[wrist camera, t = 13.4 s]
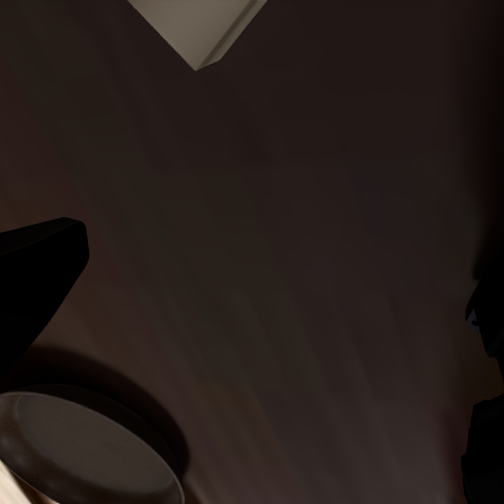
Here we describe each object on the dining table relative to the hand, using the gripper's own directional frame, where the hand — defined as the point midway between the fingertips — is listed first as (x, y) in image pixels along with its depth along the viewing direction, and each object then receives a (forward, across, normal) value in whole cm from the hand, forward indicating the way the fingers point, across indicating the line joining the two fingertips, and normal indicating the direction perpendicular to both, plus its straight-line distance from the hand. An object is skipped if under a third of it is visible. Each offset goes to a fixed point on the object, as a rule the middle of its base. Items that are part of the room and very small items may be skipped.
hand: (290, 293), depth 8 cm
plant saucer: (+13, +16, +35) cm, 41 cm away
